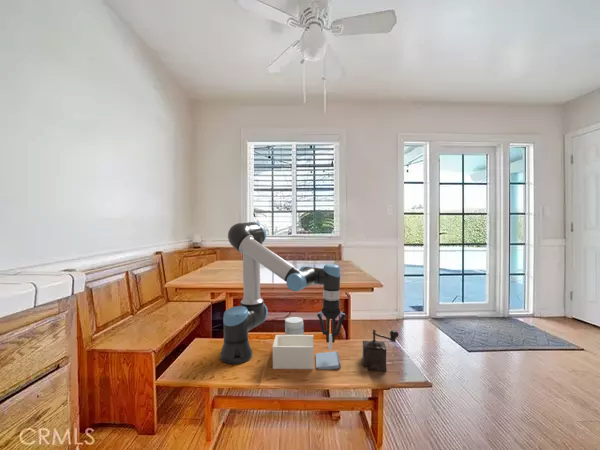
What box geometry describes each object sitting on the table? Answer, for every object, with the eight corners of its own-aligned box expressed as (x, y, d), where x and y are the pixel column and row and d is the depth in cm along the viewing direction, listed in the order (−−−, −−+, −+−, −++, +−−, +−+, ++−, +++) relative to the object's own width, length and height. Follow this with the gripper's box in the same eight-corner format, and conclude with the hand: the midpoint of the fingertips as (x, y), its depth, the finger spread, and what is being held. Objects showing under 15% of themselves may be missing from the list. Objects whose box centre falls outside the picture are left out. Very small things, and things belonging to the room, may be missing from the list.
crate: (272, 371, 147) (272, 346, 147) (276, 357, 161) (275, 334, 161) (313, 371, 147) (313, 347, 146) (313, 357, 161) (313, 335, 160)
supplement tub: (307, 348, 170) (307, 320, 170) (291, 353, 165) (291, 324, 164) (297, 342, 178) (296, 315, 178) (281, 346, 173) (281, 318, 172)
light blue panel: (316, 367, 146) (340, 364, 146) (315, 353, 160) (337, 350, 160) (316, 371, 147) (341, 368, 146) (316, 356, 161) (338, 354, 160)
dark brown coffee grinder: (362, 370, 147) (362, 330, 146) (361, 359, 158) (362, 322, 157) (398, 373, 145) (399, 332, 144) (395, 361, 156) (396, 323, 155)
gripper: (317, 300, 148) (316, 352, 150) (346, 301, 148) (345, 353, 149) (316, 296, 156) (315, 345, 157) (344, 296, 155) (343, 345, 157)
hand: (330, 348), depth 153 cm, fingers closed
